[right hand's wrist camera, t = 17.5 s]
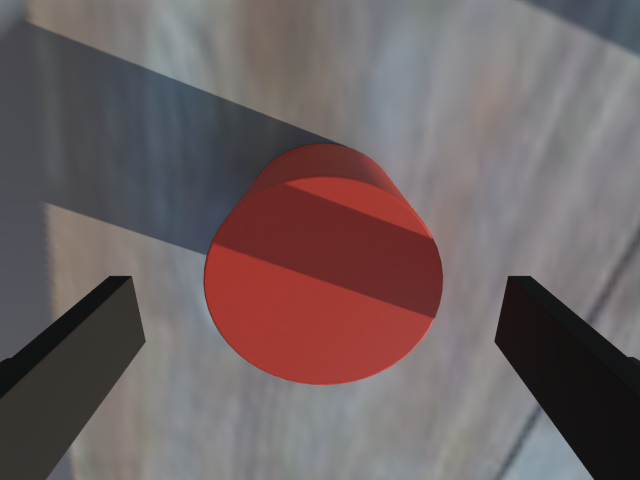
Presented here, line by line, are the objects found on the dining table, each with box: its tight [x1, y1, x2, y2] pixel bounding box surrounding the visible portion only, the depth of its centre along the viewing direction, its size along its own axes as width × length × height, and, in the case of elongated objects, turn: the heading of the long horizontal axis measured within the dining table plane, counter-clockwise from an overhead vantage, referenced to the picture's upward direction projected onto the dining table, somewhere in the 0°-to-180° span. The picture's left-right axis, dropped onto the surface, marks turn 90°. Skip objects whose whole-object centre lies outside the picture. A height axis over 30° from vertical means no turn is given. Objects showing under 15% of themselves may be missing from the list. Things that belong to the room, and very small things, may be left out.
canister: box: [204, 143, 443, 385], centre depth 16 cm, size 8×8×8 cm
